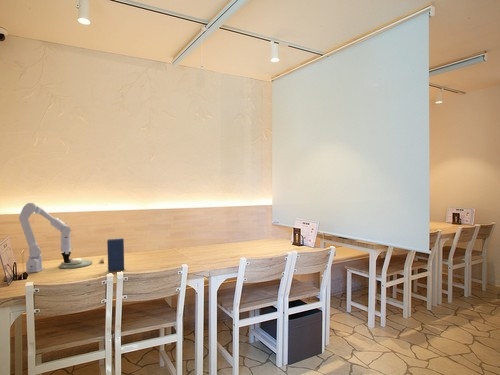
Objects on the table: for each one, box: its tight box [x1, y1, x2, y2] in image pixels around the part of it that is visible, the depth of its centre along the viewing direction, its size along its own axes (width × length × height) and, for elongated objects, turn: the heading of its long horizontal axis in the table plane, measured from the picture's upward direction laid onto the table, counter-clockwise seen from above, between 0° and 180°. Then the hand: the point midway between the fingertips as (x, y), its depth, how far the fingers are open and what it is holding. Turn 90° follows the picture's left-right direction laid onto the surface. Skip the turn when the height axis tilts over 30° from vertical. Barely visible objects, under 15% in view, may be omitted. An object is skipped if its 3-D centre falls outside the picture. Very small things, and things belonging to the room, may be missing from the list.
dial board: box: [58, 259, 93, 270], centre depth 220 cm, size 20×20×2 cm
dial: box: [68, 257, 83, 264], centre depth 219 cm, size 11×7×3 cm, turn 96°
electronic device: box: [106, 237, 125, 273], centre depth 204 cm, size 10×5×20 cm, turn 109°
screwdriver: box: [99, 257, 105, 264], centre depth 229 cm, size 12×2×2 cm, turn 23°
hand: (66, 262), depth 217 cm, fingers closed, pressing on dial
